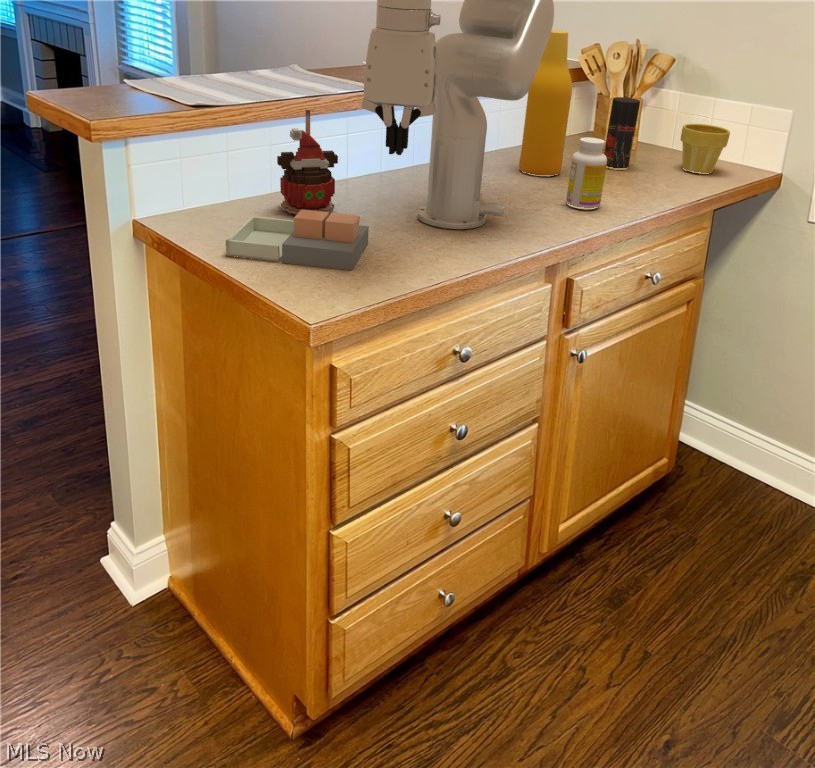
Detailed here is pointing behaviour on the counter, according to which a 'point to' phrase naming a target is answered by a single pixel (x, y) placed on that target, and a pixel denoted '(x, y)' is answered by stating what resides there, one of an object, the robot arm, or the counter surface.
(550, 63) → the beer bottle
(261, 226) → the sage bin
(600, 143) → the supplement bottle
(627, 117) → the deodorant
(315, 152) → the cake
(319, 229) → the tile
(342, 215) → the tile
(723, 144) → the plant pot
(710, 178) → the counter surface
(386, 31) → the robot arm
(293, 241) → the slate board
